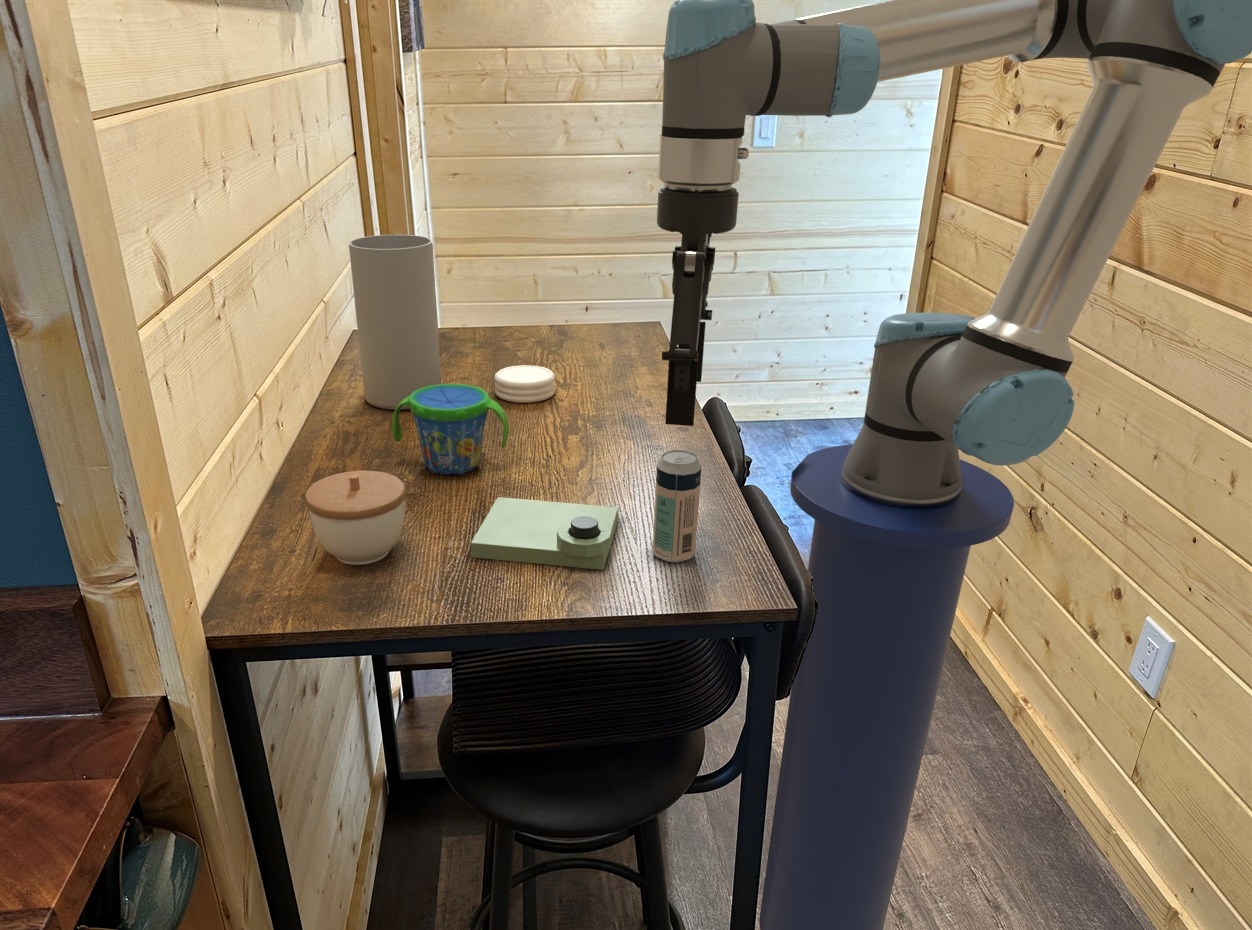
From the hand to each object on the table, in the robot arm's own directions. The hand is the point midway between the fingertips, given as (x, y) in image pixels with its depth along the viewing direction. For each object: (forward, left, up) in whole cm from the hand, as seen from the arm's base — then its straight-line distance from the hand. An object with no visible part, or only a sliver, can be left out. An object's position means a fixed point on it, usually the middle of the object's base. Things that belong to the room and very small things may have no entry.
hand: (684, 401), depth 95 cm
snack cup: (+32, -19, -18) cm, 41 cm away
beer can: (0, 0, -18) cm, 18 cm away
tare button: (+10, +3, -15) cm, 18 cm away
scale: (+15, -1, -18) cm, 24 cm away
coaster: (+29, -50, -18) cm, 61 cm away
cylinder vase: (+48, -44, -18) cm, 68 cm away
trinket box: (+35, +6, -18) cm, 40 cm away
